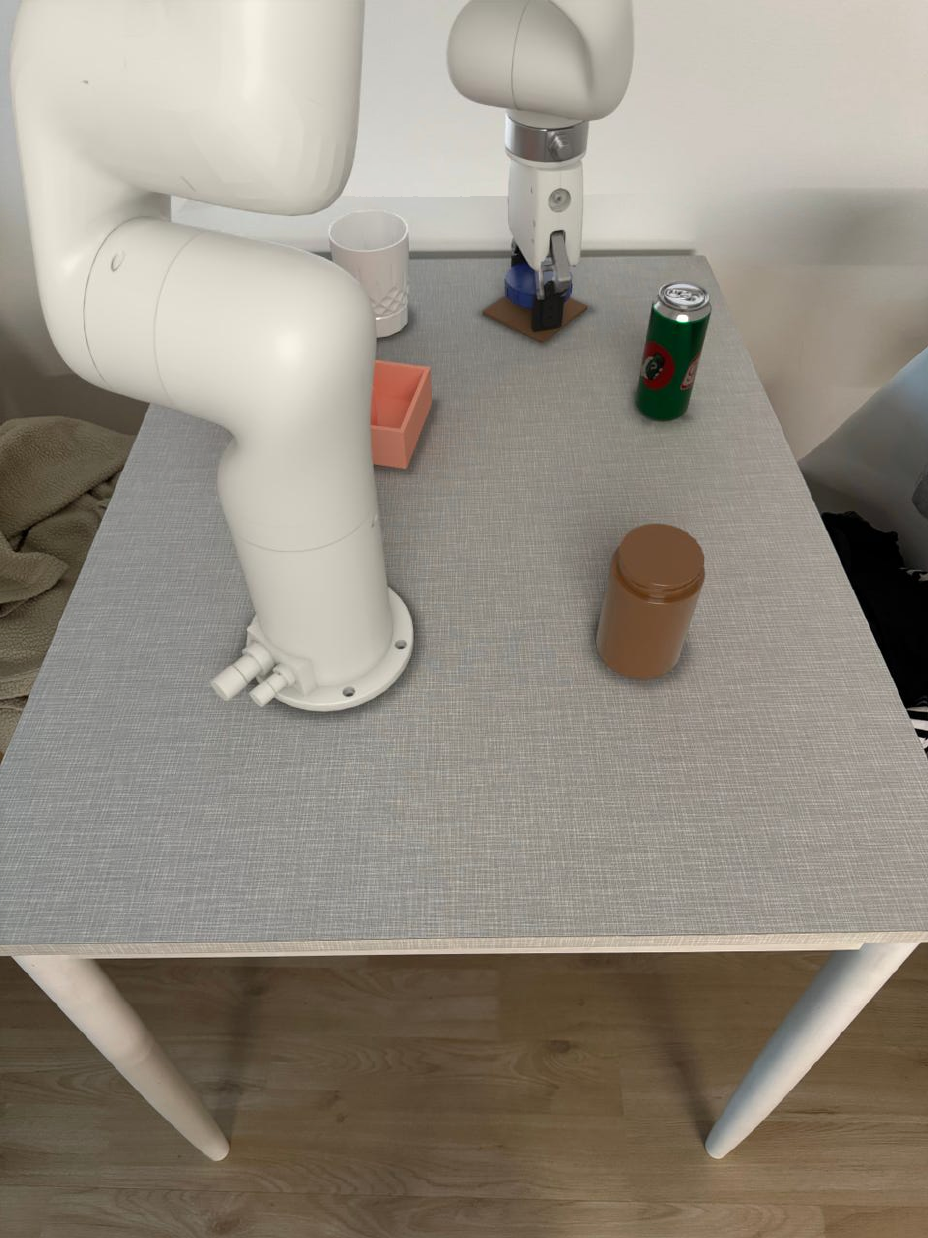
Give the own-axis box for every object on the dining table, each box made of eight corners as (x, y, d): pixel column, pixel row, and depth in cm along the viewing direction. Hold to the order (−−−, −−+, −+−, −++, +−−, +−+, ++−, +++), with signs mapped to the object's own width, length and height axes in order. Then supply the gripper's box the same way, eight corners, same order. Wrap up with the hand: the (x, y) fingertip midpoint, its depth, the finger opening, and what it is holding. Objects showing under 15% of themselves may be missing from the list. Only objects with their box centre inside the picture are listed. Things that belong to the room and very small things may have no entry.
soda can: (685, 427, 82) (713, 314, 73) (631, 421, 83) (652, 307, 73) (688, 394, 85) (715, 281, 76) (636, 388, 86) (656, 275, 76)
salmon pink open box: (432, 403, 85) (427, 313, 77) (406, 469, 79) (399, 378, 71) (256, 379, 87) (235, 289, 79) (220, 440, 81) (193, 350, 74)
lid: (501, 277, 94) (501, 261, 93) (565, 273, 94) (566, 258, 93) (508, 311, 90) (509, 295, 88) (576, 307, 90) (577, 291, 89)
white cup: (329, 309, 94) (316, 219, 86) (397, 292, 96) (390, 202, 88) (355, 349, 90) (344, 258, 82) (425, 330, 92) (421, 239, 84)
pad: (542, 343, 90) (542, 339, 90) (482, 314, 94) (482, 311, 93) (587, 308, 94) (587, 305, 94) (528, 282, 97) (528, 279, 97)
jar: (650, 694, 64) (676, 606, 56) (579, 648, 67) (594, 557, 58) (696, 640, 67) (727, 549, 59) (626, 599, 70) (647, 505, 61)
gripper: (619, 171, 75) (596, 349, 89) (555, 89, 85) (543, 261, 99) (535, 182, 74) (525, 361, 88) (481, 98, 84) (480, 270, 98)
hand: (535, 307), depth 93 cm, fingers closed on lid, 6 cm apart
